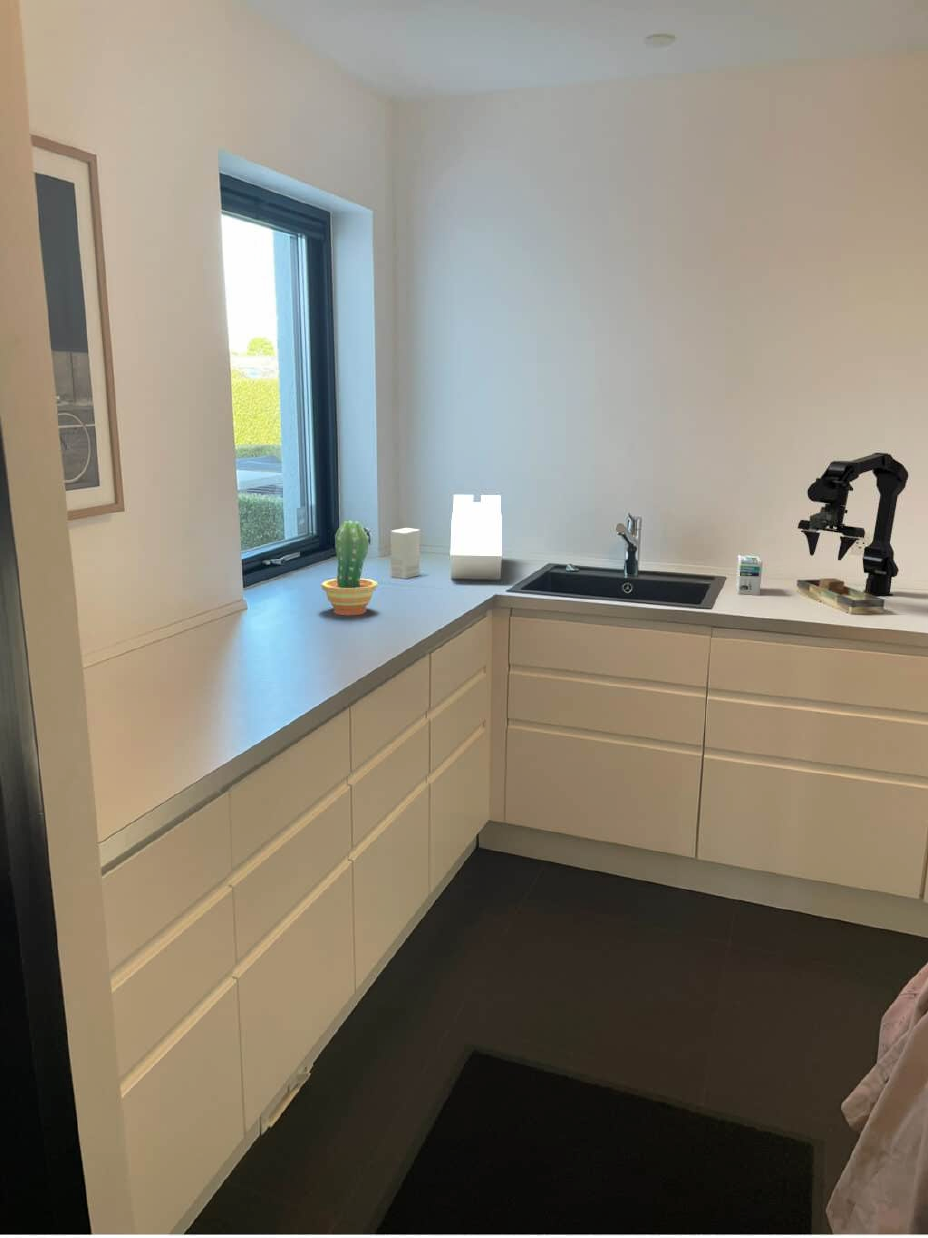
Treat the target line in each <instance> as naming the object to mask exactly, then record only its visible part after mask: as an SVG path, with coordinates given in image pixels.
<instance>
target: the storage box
mask: <svg viewBox="0 0 928 1238" xmlns="http://www.w3.org/2000/svg"><path fill="white" fill-rule="evenodd" d="M480 497H481V498H480V502H476V501H474V494H453V509H452V516H451V531H450V532H451V533H450V534H451V535H450V554H449V555H450V580H490V581H491V580H494V581H497V580H499V581H500V580H501V577H502V576H501V574H502V559H503V557H502V556H503V553H502V552H503V548H502V547H503V536H502V535H503V516H502V511H501V510H502V509H501V503H502V502H501V495H500V494H498V495H497V494H496V495H495V494H488V495H487V494H481V495H480Z"/></svg>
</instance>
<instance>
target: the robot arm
mask: <svg viewBox="0 0 928 1238" xmlns="http://www.w3.org/2000/svg"><path fill="white" fill-rule="evenodd" d="M871 471H872V474H873V475H874V477H875V478H876V482H875V485H876V487H877V488H876V489H877V490H878V493H879V500H878V506H877V512H876V519H875V524H874V531H873V536H872V542H870V543H869V545H868V546H867V545H866V546H865V547H864V549H863V556H862V558H861V559H862V567H863V568H862V569H863V573H864V574H867V578H866V580H865V588H864V589H863V591H862V592H864V593H867V594H870V595H872V596H875V597H879V596H881V597H882V596H884V597H885V596H894V593H891V589H892V588H891V587H892V580H893V578H896V577H897V576H898V574H899V568H898V566H897V564H896V562H895V560H894V558H895V557H894V555H895V551H894V549H893V546H892V545H891V538H892V533H893V527H894V520H895V515H896V510H897V503H898V497H899V496H900V495H901V494H902V492H903V491H904V489H906V484H907V481H908V479H909V471H908V470H907V469H906V467H905V466H904V465H903V464H902V463H901V462H900V461H898V460H896V459H895V458H894V457H893V456H892V455H891V454H890V453H888V452H875V453H871V454H869V455H867V456H863V457H860V458H857V459H853V460H833V461H831V462H830V463H829V465H828V467H827V468H826V469H825V471H824V472H823V474H822V475H821V476H820V477H816V478H815V481H814V482H812V483H811V484H810V485H809V487H808V488H807V493H806V494H807V497H808V499H809V500H810V501H812V502H814V503H820V504H824V506H821V508H820V512H817V513H814V514H812V515H809V519H800V521H799V522H798V523H797V529H799V530H800V532H801V533H803V534H804V536H805V537H806V540H807V545H808V551H809V556H811V557H812V556H814V555H815V553H816V549H817V547H818V546H817V545H818V542H819V539H820V534H821V532H818V531H822V532H823V531H824V532H831V533H836V534H838V533H839V534H841V535H843V536H841V535H840V536H839V539H840V544H839V549H838V550H839V551H838V553H837V561H842V559H843V558H844V557H845V555H846V554H847V553H848V551H849V549H850V548H851V547H852V546H853V545H854V544H855V543H856V542H857V541H860V539H864V538H865V536H866V531H865V528H864V527H858V526H851V525H846V524H845V523H844V519H845V514H848V509H846V508H847V502H848V497H849V494H850V493H849V492H850V491H851V492H853V491H854V488H853V486H852V485H851V483H852V482H854V481H855V480H857V479H858V478H859V477H860V475H862V474H864V473H867V472H871Z"/></svg>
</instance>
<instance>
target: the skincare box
mask: <svg viewBox="0 0 928 1238" xmlns="http://www.w3.org/2000/svg"><path fill="white" fill-rule="evenodd" d="M420 535H421V530H420V529H419V528H411V527H404V528H398V529H394V530H390V577H391V578H397V579H403V580H407V579H410V578H414V577H417V576H418V577H419V576H421V575H420V573H421V571H420V567H421V565H420V561H421V557H420V556H421V555H420V553H421V551H420V549H421V548H420V545H421V544H420V543H421V539H420V538H421V537H420Z"/></svg>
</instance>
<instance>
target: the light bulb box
mask: <svg viewBox="0 0 928 1238" xmlns="http://www.w3.org/2000/svg"><path fill="white" fill-rule="evenodd" d="M762 569H763V560H762V559H761V558H760V556H759V555H758V556H757V555H745V554H744V555H743V554H738V555H737V567H736V578H735V579H736V580H735V589H736V592H737V594H738V595H749V596H750V595H751V596H753V595H754V596H760V594H761V593H760V592H761V583H762V582H761V581H762V571H763V570H762Z"/></svg>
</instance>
